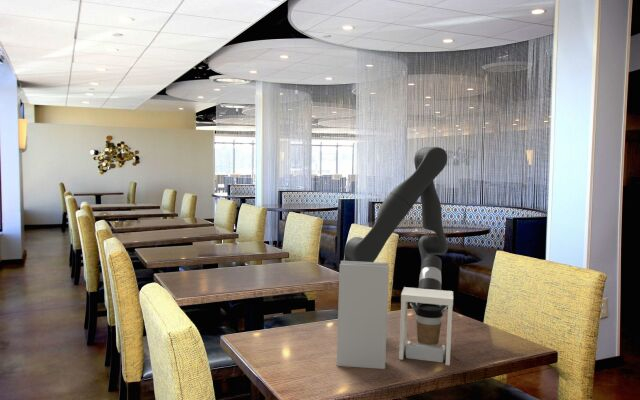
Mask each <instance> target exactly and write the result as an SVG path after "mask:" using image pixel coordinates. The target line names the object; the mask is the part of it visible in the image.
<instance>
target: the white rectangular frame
mask: <svg viewBox="0 0 640 400" xmlns="http://www.w3.org/2000/svg"><path fill="white" fill-rule="evenodd" d="M410 302H416V303H417V304H419V303H427V304H437V305H447V317H446V318H447V320H446V321H447V323H446V342H445V344H442V345H441V346H438V347H437V346H428V345H419V344H418V343H412V342H411V341H410V340H407V329H408V328H407V324H408V303H410ZM453 307H454V291H452V290H443V289H441V290H432V289H420V288H419V287H406V286H403V289H402V291H401V293H400V320H399V321H400V324H399V325H400V326H399V347H398V348H399V349H398V350H399V351H398V360H400V361H401V360H404V357H405V358H406V359H409V360H410V359H412V360H420V361H427V362H438V363H443V362H444V361H445V366H450V364H451V347H452V346H451V345H452V323H453V322H452V321H453Z"/></svg>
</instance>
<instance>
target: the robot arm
mask: <svg viewBox="0 0 640 400" xmlns="http://www.w3.org/2000/svg"><path fill="white" fill-rule="evenodd" d="M413 160H414V167H415V171H413V173H412V174H411V175H409V177H408V178H406V179H404V180H403V181H401V183H399V184H397V186H395V187H394V188H393V189H392V190H391V191H390V192H389V194H387V196H386V198H384V199H383V201H382V203H381V205H380V207H379V209H378V213H377V217H376V218H375V219H376V220H375V222H374V224H373V226H372V228H370V230H369V231H368V232H367V234H366V235H365V236H364V237H361V236H360V237H359V236H355V237H354V236H353V237H352V238H350V239H349V240H348V241H347V242H346V243H345V246H344V253H343V261H358V262H375V261H376V260H377V258H378V256H379V255H380V253H381V252H382V249H383V248H384V246H385V245H386V243H387V241H388V240H389V239H390V238H391V235H392V234H393V233H394V231H396V230H397V228H398V227H399V225H400V224H401V222H402V221H403V220H404V218H405V217H406V216H407V215H408V213H409V212H410V211H411V209H412V208H413V206H414V205H415V203H416V202H418V201H417V200H418V199H419V198H420V201H421V219H422V220H421V222H422V223H421V224H422V227H423V229H425V230H427V231H428V230H429V231H432V232H434V233H435V234H436V235H422V236H420V238H419V239H418V241H417V242H418V244H417V245H418V250H419V254H420V259H421V265H420V273H419V278H418V279H419V280H418V288H420V289H432V290H442V263H443V262H442V259H441V258H440V257H439V256H442V255H445V254H446V253H447V252H448V249H449V244H448V241H447V237H446V235H445V232H444V228H443V227H444V226H443V220H442V219H443V218H442V217H443V216H442V203H441V201H440V198H439V196H438V195H439V194H438V193H437V189H436V187H435V181H434V180H435V179H436V178H437V176H438V175H440V173H441V172H442V171H443V170H444V169H445V168H446V165H447V162H448V154H447V151H446V150H445V149H444V148H443V147H440V146H426V147H425V146H424V147H420V148H419V149H418V150H417V151H416V152H415V154H414V159H413ZM437 255H438V256H437ZM419 304H421V303H416V302H409V305H410V307H411V308H412V310H413V311H414V313H416V310H417V307H418V305H419ZM440 306H441V310H442V313H444V312H445V311H447V310H448V305H440Z"/></svg>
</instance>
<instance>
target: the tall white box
mask: <svg viewBox="0 0 640 400" xmlns="http://www.w3.org/2000/svg"><path fill="white" fill-rule="evenodd" d="M338 271H339V274H338V275H339V277H338V306H337V307H338V308H337V330H336V331H337V332H336V333H337V339H336V367H350V368H353V367H354V368H367V369H379V370H380V369H382V370H386V356H387V355H386V353H387V351H386V350H387V332H388V331H387V329H388V327H387V326H388V309H389V308H388V307H389V305H388V304H389V303H388V302H389V301H388V300H389V282H390V281H389V279H390V277H389V276H390V265H389V262H377V261H376V262H375V261H374V262H358V261H344V260H340V263H339V269H338Z"/></svg>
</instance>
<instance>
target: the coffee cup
mask: <svg viewBox="0 0 640 400" xmlns="http://www.w3.org/2000/svg"><path fill="white" fill-rule="evenodd" d="M417 306H418V307H417V310H416V312H415V315H416V336H417V337H416V339H417V344H419V345H428V346H437V347H439V341H440V335H441V327H442V318H443V316H444V315H443V313H444V312H443V313H442V310H441V306H440V305H437V304H427V303H421V304H419V303H418V304H417Z"/></svg>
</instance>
